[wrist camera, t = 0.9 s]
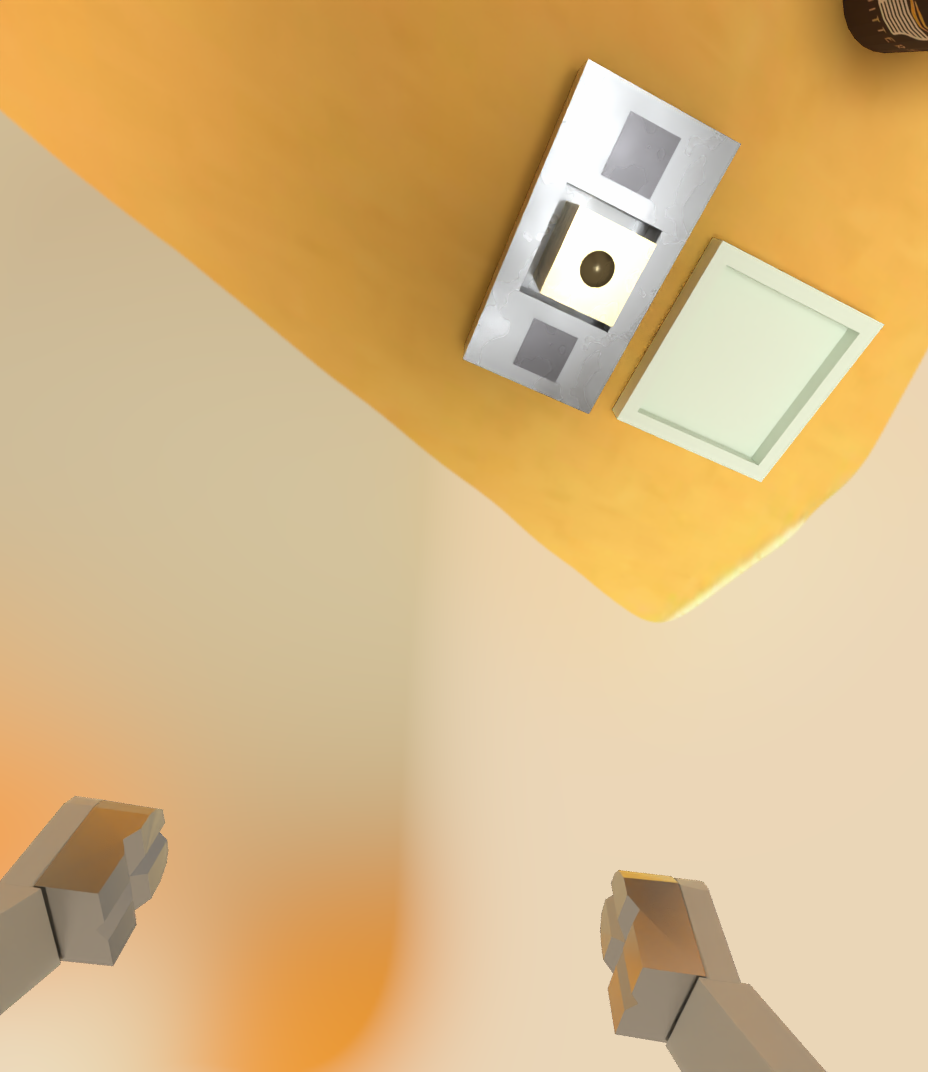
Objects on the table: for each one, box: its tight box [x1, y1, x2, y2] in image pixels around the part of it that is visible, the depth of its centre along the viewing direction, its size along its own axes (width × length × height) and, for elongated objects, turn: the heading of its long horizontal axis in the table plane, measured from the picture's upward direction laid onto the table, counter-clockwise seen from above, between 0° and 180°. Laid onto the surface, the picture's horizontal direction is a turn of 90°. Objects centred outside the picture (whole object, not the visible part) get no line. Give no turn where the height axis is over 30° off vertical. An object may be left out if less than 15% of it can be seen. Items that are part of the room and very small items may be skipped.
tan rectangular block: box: [533, 201, 657, 327], centre depth 34 cm, size 4×4×6 cm
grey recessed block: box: [463, 59, 741, 414], centre depth 35 cm, size 16×9×4 cm, turn 157°
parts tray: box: [612, 238, 884, 482], centre depth 39 cm, size 12×12×2 cm
